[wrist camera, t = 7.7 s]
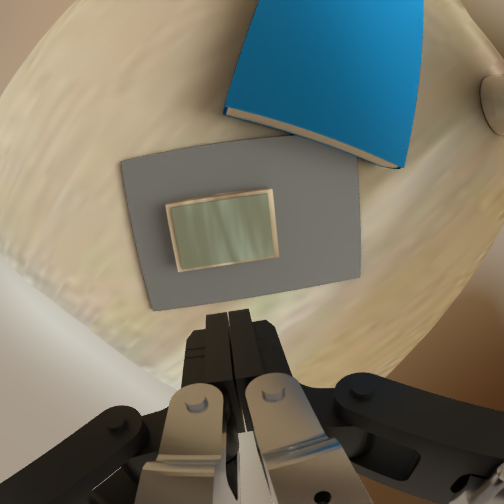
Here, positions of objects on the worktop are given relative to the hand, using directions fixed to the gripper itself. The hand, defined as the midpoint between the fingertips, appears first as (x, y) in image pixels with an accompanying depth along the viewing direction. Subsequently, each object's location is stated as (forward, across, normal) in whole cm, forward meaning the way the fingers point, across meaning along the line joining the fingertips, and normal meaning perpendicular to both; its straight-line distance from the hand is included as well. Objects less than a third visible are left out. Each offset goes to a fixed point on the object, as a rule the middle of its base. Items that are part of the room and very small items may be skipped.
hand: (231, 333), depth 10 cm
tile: (+16, -5, 0) cm, 17 cm away
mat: (+18, -3, 0) cm, 18 cm away
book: (+18, -14, -18) cm, 29 cm away
